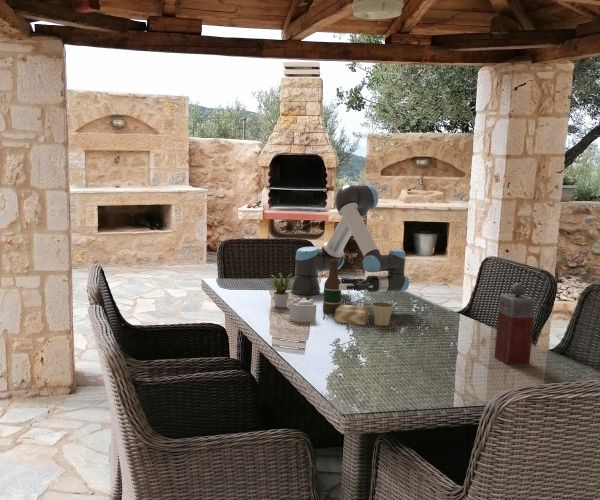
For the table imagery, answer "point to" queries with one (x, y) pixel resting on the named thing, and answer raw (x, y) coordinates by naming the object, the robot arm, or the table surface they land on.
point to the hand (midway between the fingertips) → (333, 284)
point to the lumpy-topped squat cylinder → (302, 310)
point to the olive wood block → (352, 314)
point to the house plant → (281, 291)
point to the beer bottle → (332, 289)
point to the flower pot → (382, 313)
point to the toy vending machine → (514, 327)
